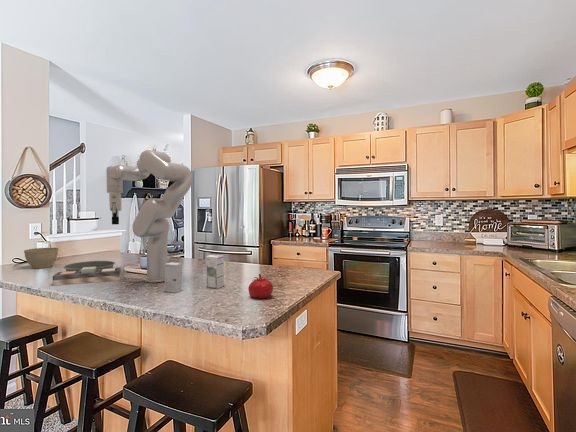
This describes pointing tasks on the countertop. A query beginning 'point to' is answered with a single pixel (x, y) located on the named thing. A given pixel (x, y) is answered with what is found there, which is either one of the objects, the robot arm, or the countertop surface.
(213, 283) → the syrup box
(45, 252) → the planter bowl
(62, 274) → the key
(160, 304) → the countertop surface
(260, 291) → the pomegranate
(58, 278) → the keypad
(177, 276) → the skincare box
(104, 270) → the key
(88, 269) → the key middle
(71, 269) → the cake pan
